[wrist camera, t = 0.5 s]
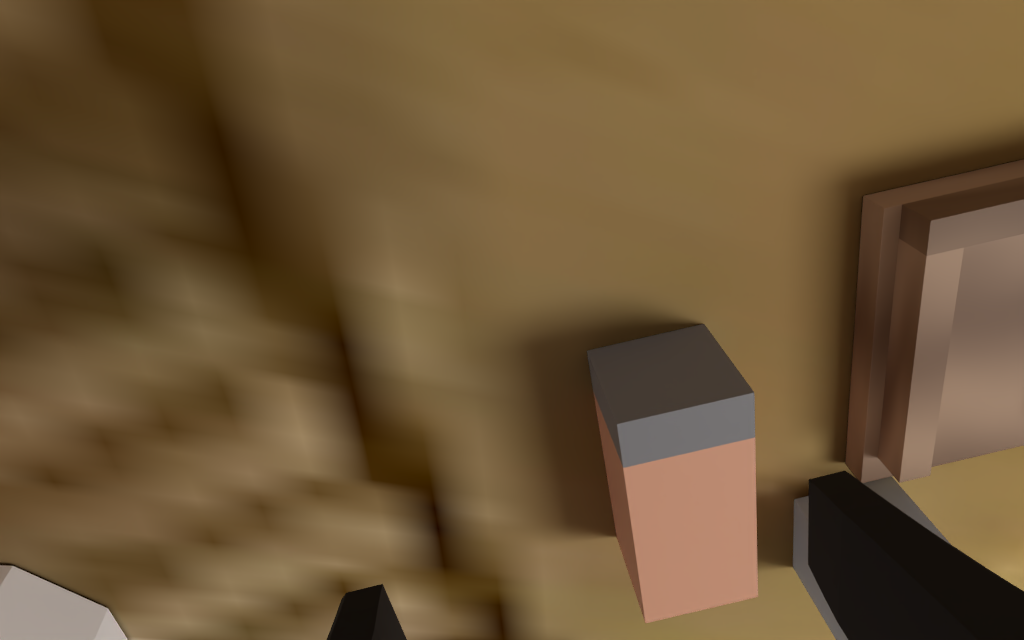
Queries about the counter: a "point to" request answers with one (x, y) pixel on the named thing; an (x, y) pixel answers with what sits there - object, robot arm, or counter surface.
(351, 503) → the counter surface
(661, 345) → the two-tone peach block
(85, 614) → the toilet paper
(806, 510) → the pale blue-grey cube
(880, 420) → the jig
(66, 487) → the counter surface
